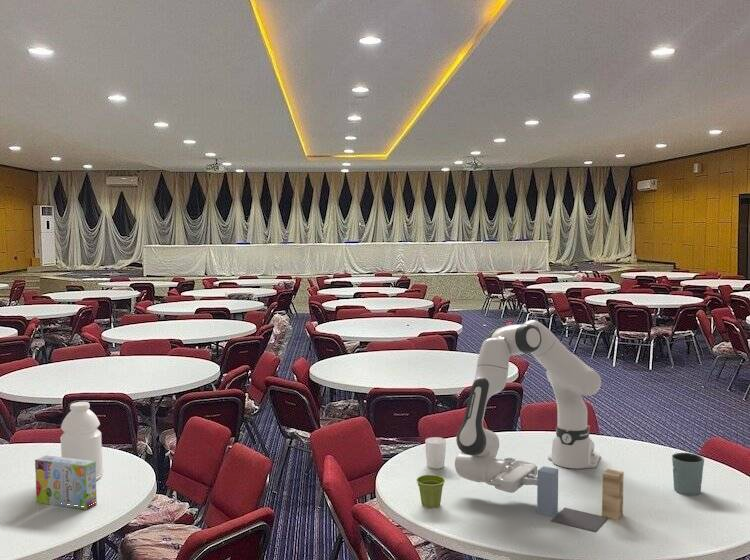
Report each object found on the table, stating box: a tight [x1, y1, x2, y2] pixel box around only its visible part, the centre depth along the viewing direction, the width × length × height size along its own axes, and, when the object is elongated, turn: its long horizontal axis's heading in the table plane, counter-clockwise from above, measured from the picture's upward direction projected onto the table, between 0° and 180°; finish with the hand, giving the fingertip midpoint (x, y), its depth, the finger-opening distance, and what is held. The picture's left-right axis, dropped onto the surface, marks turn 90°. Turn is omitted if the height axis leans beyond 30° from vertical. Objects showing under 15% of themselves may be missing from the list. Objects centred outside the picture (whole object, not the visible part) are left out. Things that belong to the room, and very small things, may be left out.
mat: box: [550, 507, 609, 533], centre depth 225 cm, size 12×14×1 cm
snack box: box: [34, 454, 98, 510], centre depth 241 cm, size 21×6×15 cm, turn 71°
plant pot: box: [416, 474, 446, 509], centre depth 237 cm, size 9×9×9 cm
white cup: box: [424, 436, 447, 470], centre depth 275 cm, size 8×8×10 cm
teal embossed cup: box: [671, 452, 705, 496], centre depth 248 cm, size 10×10×12 cm
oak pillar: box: [601, 468, 625, 521], centre depth 228 cm, size 5×5×14 cm
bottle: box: [59, 401, 104, 481], centre depth 264 cm, size 14×14×28 cm
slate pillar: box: [536, 465, 559, 517], centre depth 231 cm, size 5×5×14 cm
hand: (539, 481), depth 232 cm, fingers closed
